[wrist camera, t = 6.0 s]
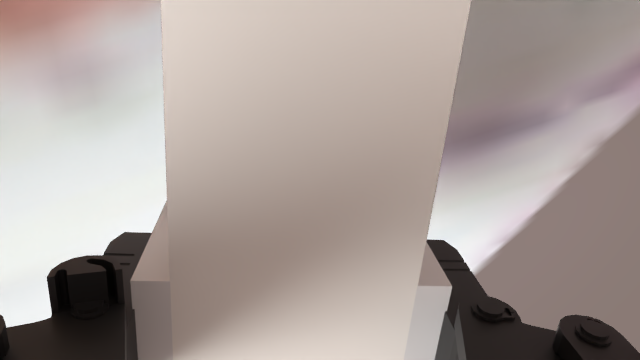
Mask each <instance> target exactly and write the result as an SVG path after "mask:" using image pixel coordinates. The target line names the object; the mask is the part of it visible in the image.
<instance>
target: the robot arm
mask: <svg viewBox="0 0 640 360" xmlns="http://www.w3.org/2000/svg"><path fill="white" fill-rule="evenodd" d="M47 282H48V289H49V295H50V302H51V309H52V316H51V318H48V319H46V320H43V321H39V322H35V323H30V324H24V325H19V326H14V327H8V328H6V325H5V321H4V319H3V316H1V315H0V360H173V345H172V316H171V286H170V276H169V245H168V214H167V201H166V203H165V205H164V208H163V210H162V212H161V214H160V216H159V219H158V221H157V223H156V225H155V227H154V230H153V232H152V233H132V232H124V233H123V234H121V235H120V236H118V237H117V238H115V239H114V240H113V241H111V242H110V244H109V245H108V247H107V249H106V250H105V252H104V255H103V256H83V257H77V258H73V259H70V260H68V261H65V262H63V263H61V264H59V265H58V266H56V267H55V268H53V269H52V270H51V271H50V273H49V275H48V276H47ZM404 360H640V353H639V352H638V351H637V350H636V349H635V348H634V347H633V346H632V345H631V344H630V343H629V342H628V341H627V340H626V339H625V338H624V337H623V336H622V335H621V334H620V333H619V332H618V331H616V330H615V329H614V328H613V327H611V326H609V325H607V324H605V323H604V322H602V321H600V320H598V319H594V318H592V317H588V316H581V315H570V316H565V317H564V318H562V319H561V320H560V323H559V325H558V328H557V331H554V330H549V329H544V328H540V327H535V326H531V325H527V324H524V323H522V322H521V319H520V317H519V315H518V314H517V312H516V311H515V310H514V309H513V308H512V307H511V306H509V305H508V304H506V303H505V302H502V301H500V300H498V299H496V298H492V297H488V296H487V294H486V293H485V291H484V290H483V288H482V287H481V285H480V284H479V282H478V281H477V279H476V278H475V276H474V275H473V273H472V272H471V271H470V269H469V267H468V266H467V264H466V263H464V260H463V258H462V257H461V255H460V254H459V252H458V251H457V250H456V249H455V248H454V247H452V246H451V245H449V244H448V243H447V242H445V241H444V240H426V245H425V250H424V256H423V261H422V266H421V272H420V277H419V283H418V286H417V290H416V296H415V301H414V306H413V312H412V317H411V323H410V328H409V334H408V339H407V344H406V350H405V355H404Z"/></svg>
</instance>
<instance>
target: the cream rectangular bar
mask: <svg viewBox="0 0 640 360" xmlns="http://www.w3.org/2000/svg"><path fill="white" fill-rule="evenodd" d="M470 5H471V0H161V28H162V59H163V90H164V121H165V152H166V183H167V214H168V245H169V276H170V286H171V316H172V345H173V360H404V355H405V350H406V344H407V339H408V334H409V328H410V323H411V317H412V312H413V306H414V301H415V296H416V290H417V286H418V283H419V277H420V272H421V266H422V261H423V256H424V250H425V245H426V240H427V234H428V229H429V224H430V218H431V213H432V208H433V202H434V197H435V192H436V186H437V181H438V176H439V170H440V165H441V160H442V154H443V149H444V144H445V138H446V133H447V128H448V122H449V117H450V112H451V106H452V101H453V96H454V90H455V85H456V80H457V74H458V69H459V64H460V58H461V53H462V48H463V42H464V37H465V32H466V26H467V21H468V16H469V10H470Z"/></svg>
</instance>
